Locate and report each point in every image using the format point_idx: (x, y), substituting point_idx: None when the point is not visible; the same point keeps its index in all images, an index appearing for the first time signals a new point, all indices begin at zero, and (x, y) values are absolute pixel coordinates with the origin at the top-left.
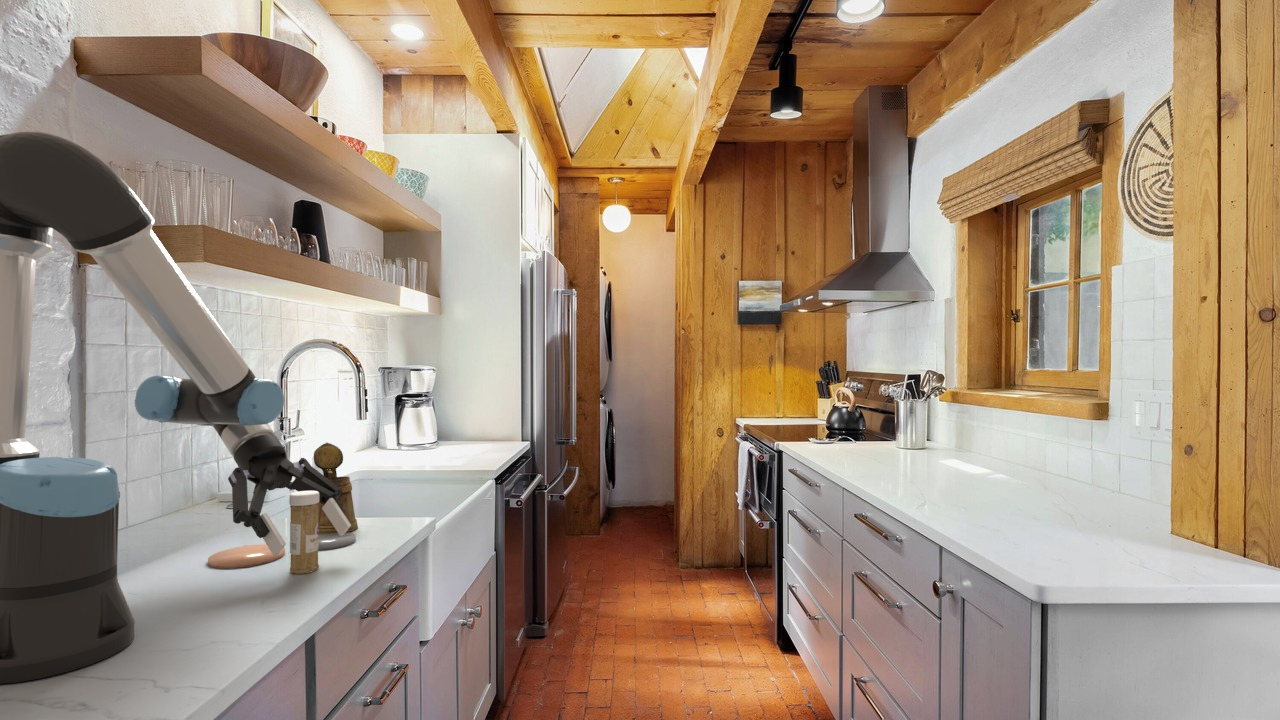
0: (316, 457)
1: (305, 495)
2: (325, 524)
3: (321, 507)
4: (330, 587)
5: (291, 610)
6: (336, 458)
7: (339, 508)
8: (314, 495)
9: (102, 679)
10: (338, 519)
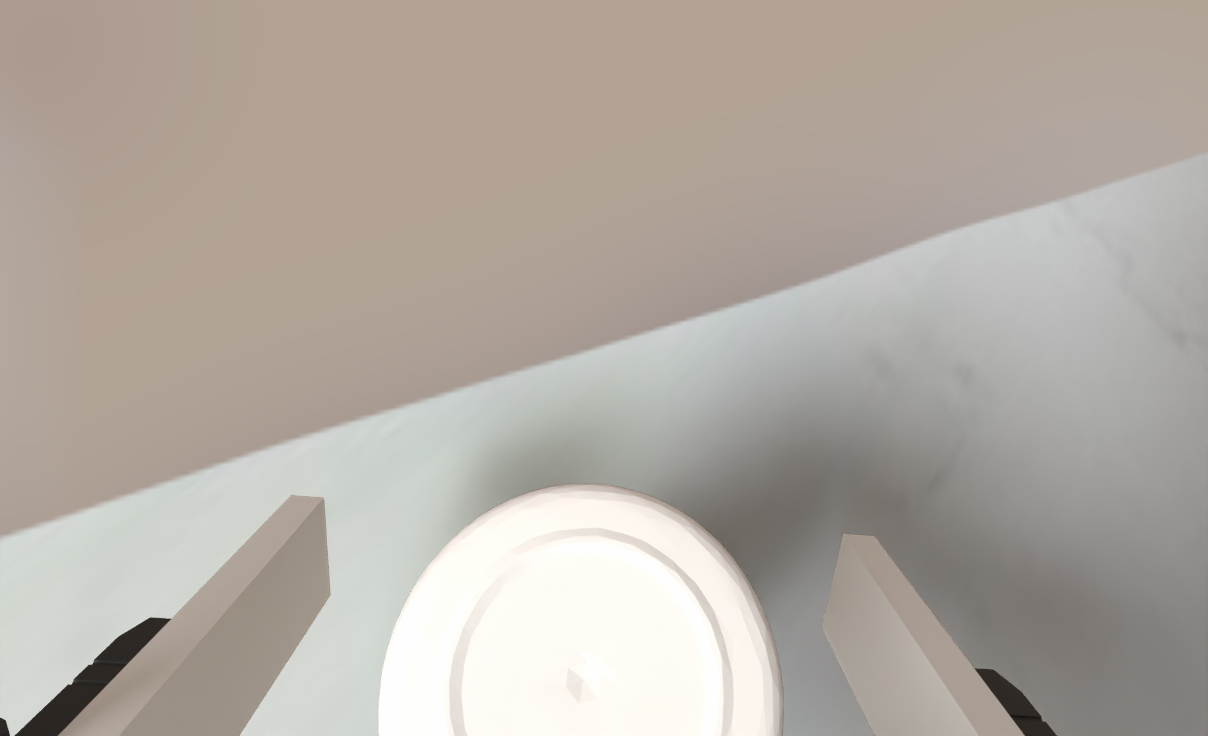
0: None
1: (697, 524)
2: None
3: None
4: (703, 365)
5: (919, 322)
6: None
7: (183, 614)
8: (587, 485)
9: None
10: (275, 599)
